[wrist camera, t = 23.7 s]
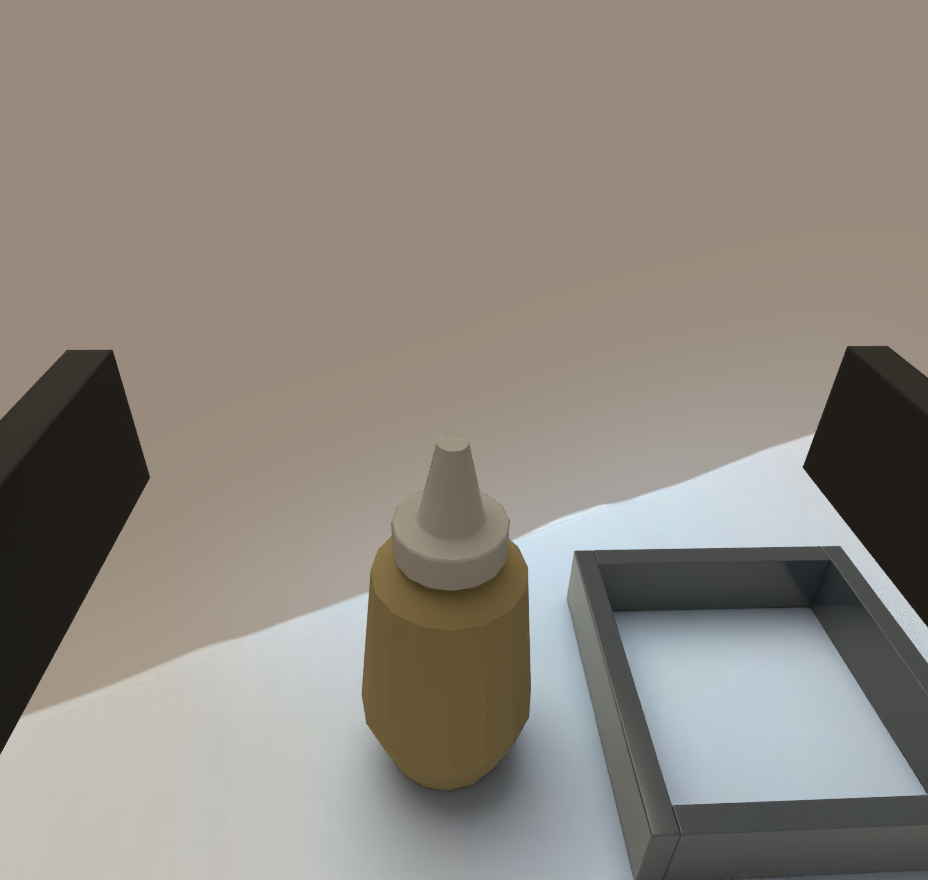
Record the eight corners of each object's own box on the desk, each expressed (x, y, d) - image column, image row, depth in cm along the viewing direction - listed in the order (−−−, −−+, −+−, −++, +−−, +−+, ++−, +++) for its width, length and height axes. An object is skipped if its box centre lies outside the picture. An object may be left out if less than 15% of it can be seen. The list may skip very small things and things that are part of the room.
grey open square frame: (819, 592, 44) (840, 545, 42) (999, 866, 30) (1045, 819, 28) (566, 597, 43) (573, 550, 41) (634, 884, 29) (651, 836, 27)
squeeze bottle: (542, 695, 37) (584, 409, 27) (499, 842, 31) (533, 540, 20) (404, 652, 39) (395, 373, 29) (336, 782, 33) (296, 480, 23)
